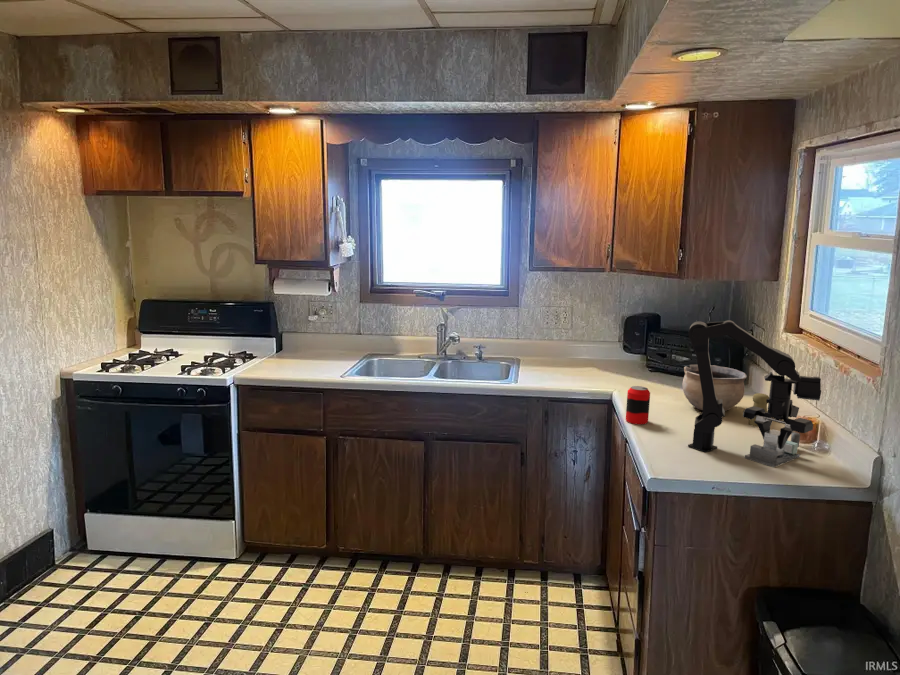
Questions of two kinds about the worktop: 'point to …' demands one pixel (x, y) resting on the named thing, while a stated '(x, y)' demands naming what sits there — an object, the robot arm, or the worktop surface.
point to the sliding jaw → (792, 443)
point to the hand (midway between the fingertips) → (774, 446)
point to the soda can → (637, 405)
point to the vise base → (769, 456)
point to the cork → (759, 405)
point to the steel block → (773, 441)
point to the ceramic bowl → (715, 386)
